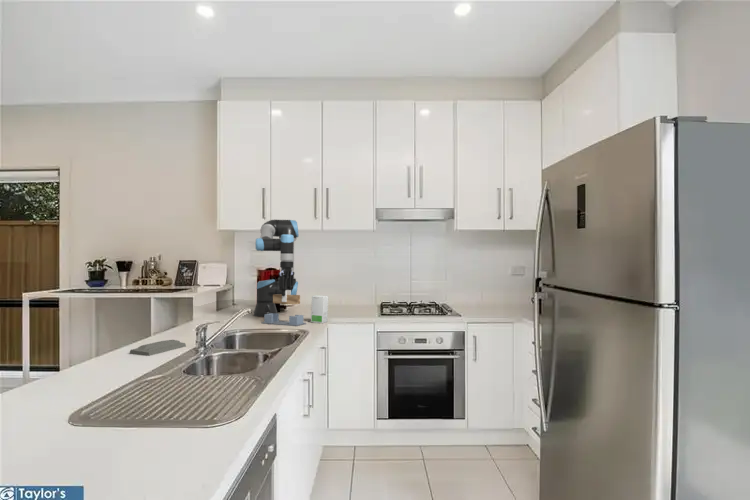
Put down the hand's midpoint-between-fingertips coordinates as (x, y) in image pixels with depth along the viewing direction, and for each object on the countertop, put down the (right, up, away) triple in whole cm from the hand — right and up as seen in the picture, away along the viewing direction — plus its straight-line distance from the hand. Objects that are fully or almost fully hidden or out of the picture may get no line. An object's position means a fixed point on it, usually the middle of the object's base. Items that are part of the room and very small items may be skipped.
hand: (286, 301), depth 259 cm
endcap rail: (-1, -13, -1) cm, 13 cm away
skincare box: (+18, -13, +7) cm, 24 cm away
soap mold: (-36, -12, -78) cm, 87 cm away
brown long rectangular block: (0, -1, 0) cm, 1 cm away
